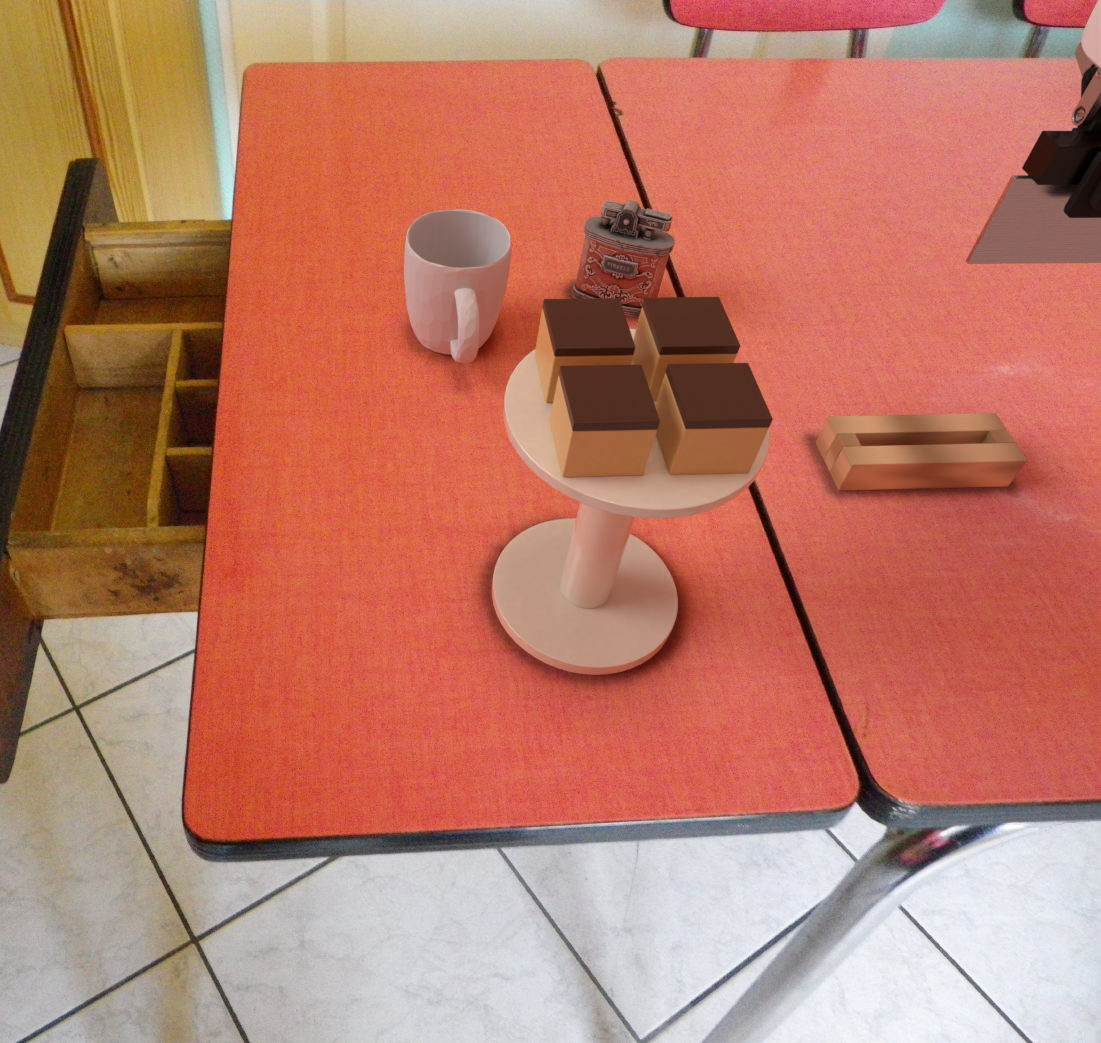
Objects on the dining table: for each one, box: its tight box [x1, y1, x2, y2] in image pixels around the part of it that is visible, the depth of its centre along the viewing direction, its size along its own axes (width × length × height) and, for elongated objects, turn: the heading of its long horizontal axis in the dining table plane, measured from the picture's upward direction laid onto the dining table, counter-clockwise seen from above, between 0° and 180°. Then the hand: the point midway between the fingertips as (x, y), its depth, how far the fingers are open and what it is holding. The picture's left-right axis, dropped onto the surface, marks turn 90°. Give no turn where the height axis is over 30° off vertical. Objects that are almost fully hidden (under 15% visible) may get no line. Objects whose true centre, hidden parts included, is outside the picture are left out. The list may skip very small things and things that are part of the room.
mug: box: [403, 208, 513, 364], centre depth 82 cm, size 13×9×10 cm
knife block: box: [815, 412, 1028, 491], centre depth 76 cm, size 14×5×3 cm, turn 93°
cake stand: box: [491, 328, 771, 676], centre depth 61 cm, size 15×15×18 cm
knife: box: [965, 130, 1101, 265], centre depth 59 cm, size 10×2×8 cm, turn 93°
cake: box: [534, 296, 774, 477], centre depth 53 cm, size 10×10×4 cm
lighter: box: [571, 200, 676, 318], centre depth 87 cm, size 8×3×10 cm, turn 67°
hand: (1077, 200), depth 59 cm, fingers closed on knife, 2 cm apart
